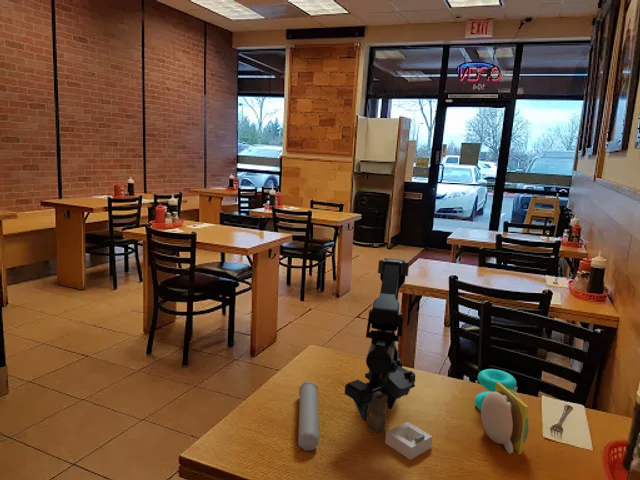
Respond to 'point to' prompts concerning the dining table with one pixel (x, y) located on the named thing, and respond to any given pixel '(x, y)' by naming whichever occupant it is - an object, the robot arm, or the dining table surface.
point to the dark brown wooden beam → (377, 412)
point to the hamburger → (505, 418)
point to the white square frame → (408, 440)
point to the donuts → (493, 382)
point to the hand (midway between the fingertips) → (377, 414)
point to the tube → (308, 416)
